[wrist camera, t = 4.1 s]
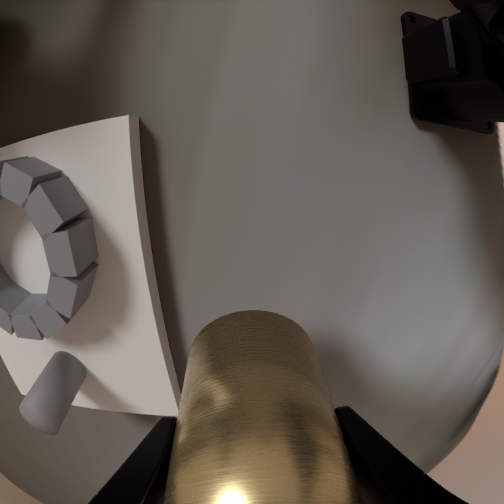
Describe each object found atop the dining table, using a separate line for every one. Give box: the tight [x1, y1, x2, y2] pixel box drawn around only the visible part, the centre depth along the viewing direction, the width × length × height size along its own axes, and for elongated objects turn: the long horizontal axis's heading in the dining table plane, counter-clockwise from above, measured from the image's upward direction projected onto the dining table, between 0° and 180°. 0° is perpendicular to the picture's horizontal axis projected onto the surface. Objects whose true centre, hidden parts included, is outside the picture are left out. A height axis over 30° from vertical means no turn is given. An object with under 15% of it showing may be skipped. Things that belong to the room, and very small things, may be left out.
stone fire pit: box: [0, 115, 181, 435], centre depth 13 cm, size 14×18×6 cm
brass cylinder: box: [164, 310, 364, 504], centre depth 7 cm, size 4×4×8 cm
